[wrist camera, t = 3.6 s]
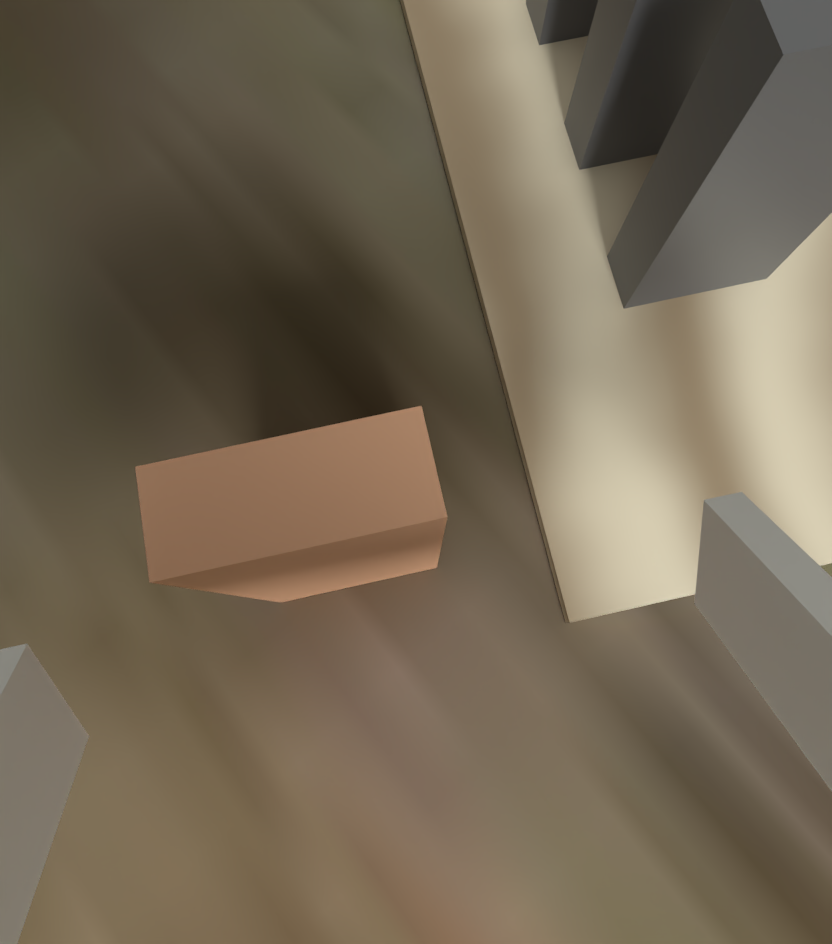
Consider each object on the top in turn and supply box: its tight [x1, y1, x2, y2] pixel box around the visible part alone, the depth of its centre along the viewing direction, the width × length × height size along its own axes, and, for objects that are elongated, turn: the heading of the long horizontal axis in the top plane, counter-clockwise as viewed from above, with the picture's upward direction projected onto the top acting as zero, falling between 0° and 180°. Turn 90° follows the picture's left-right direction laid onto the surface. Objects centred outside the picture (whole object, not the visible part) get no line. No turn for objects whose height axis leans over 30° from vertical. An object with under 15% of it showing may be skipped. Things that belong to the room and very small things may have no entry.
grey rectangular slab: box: [564, 0, 733, 170], centre depth 19 cm, size 2×5×10 cm, turn 102°
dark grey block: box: [607, 0, 832, 309], centre depth 17 cm, size 2×5×10 cm, turn 102°
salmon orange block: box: [135, 406, 447, 602], centre depth 16 cm, size 2×5×10 cm, turn 103°
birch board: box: [400, 0, 832, 623], centre depth 23 cm, size 14×25×1 cm, turn 12°
